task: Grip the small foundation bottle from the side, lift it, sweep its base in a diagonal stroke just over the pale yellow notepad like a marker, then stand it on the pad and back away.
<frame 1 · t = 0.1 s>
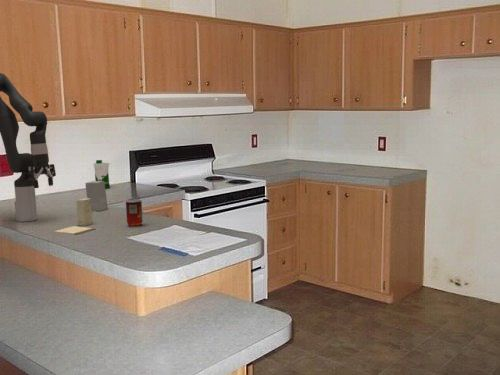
hand: (43, 186, 254), 17 cm above the countertop, tool pointing down, fingers open, 8 cm apart
soda can: (135, 225, 243), on the countertop
skincare box: (97, 210, 286), on the countertop
milk carton: (102, 189, 370), on the countertop
notepad: (73, 230, 235), on the countertop
skincare box 2: (85, 224, 248), on the countertop
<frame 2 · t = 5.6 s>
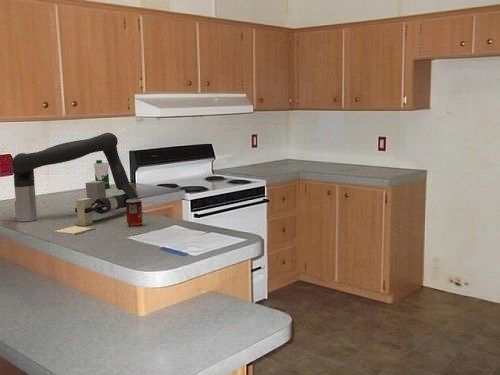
hand: (80, 210, 245), 7 cm above the countertop, tool horizontal, fingers open, 5 cm apart
skincare box 2: (85, 224, 248), on the countertop, touching gripper
everything else where it was.
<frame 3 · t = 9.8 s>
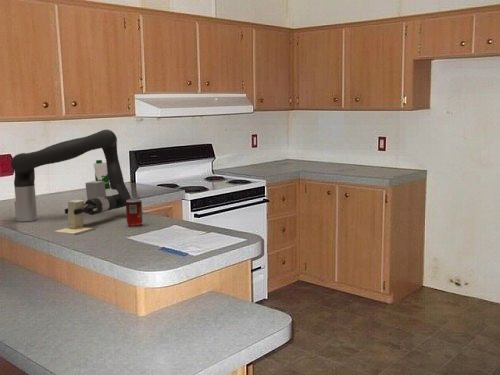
hand: (69, 211, 235), 8 cm above the countertop, tool horizontal, fingers open, 5 cm apart
skincare box 2: (75, 227, 240), on the countertop, touching gripper, notepad
everything else where it was.
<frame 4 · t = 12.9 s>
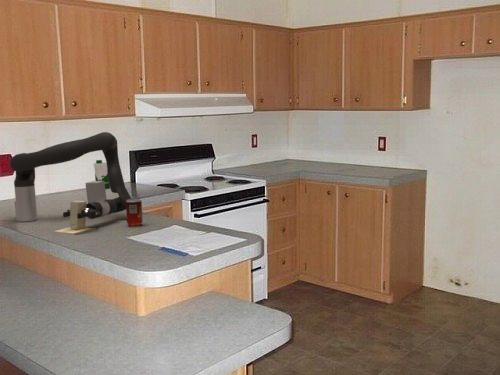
hand: (70, 215, 230), 8 cm above the countertop, tool horizontal, fingers open, 8 cm apart
skincare box 2: (77, 228, 237), point 1 cm above the countertop, touching notepad
everything else where it was.
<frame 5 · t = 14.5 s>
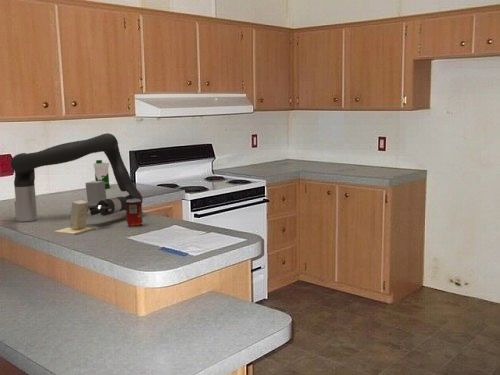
hand: (84, 212, 236), 8 cm above the countertop, tool horizontal, fingers open, 8 cm apart
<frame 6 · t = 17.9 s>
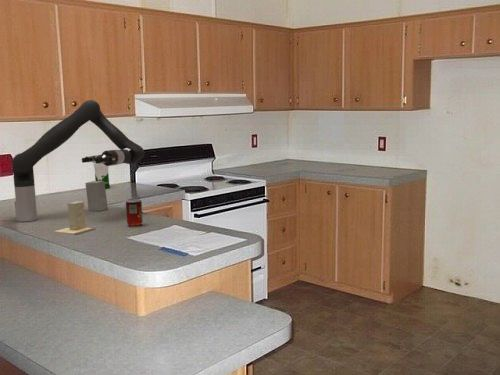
hand: (89, 160, 246), 30 cm above the countertop, tool horizontal, fingers open, 8 cm apart
at the end: skincare box 2 inside the target area (2.1 cm from its centre), resting on notepad; skincare box 2 tilted 0°; skincare box 2 moved 11.2 cm from its start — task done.
